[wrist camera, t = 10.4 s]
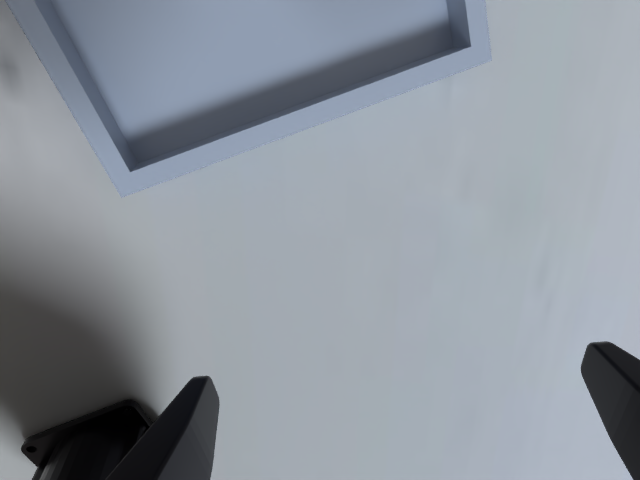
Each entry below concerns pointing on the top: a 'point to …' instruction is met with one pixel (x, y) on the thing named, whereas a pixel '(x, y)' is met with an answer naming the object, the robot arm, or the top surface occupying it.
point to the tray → (235, 69)
